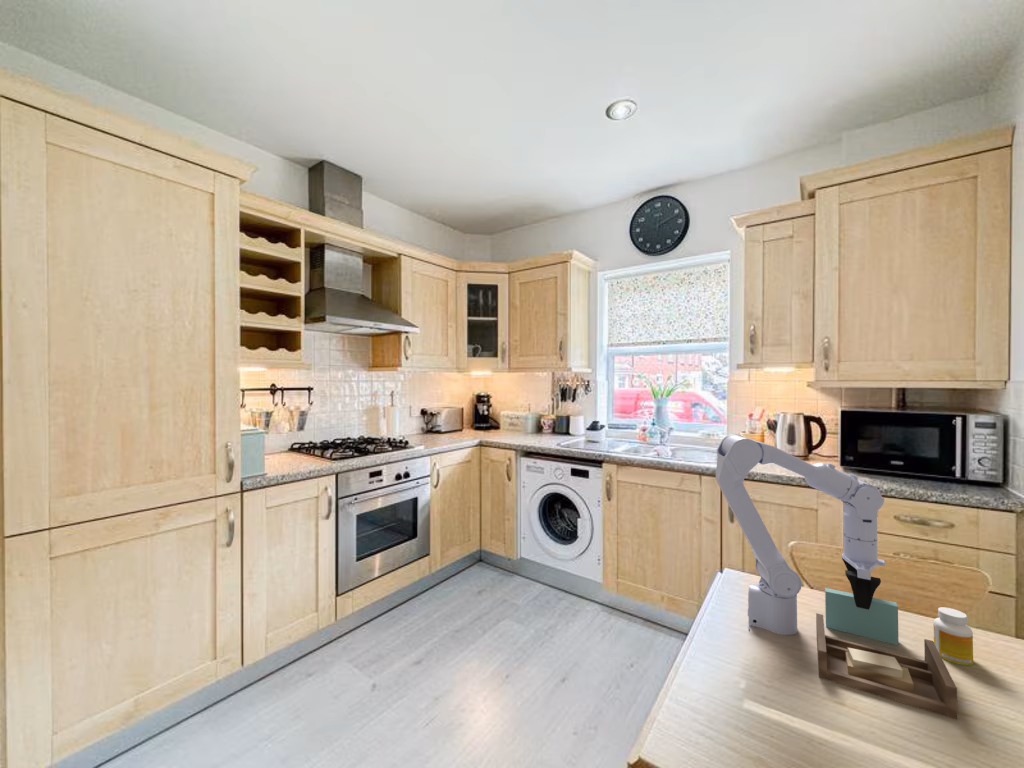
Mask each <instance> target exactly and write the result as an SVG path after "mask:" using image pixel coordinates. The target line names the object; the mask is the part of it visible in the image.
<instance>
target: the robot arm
mask: <svg viewBox="0 0 1024 768" xmlns="http://www.w3.org/2000/svg"><path fill="white" fill-rule="evenodd" d="M716 455H717V456H716V457H717V459H716V468H715V480H716V483H717V484H718V486H719V488H720V490H721V492H722V495H723V496H724V498H725V500H726V502H727V504H728V506H729V508H730V509H731V511H732V514H733V515H734V517H735V519H736V522H737V523H738V525H739V527H740V529H741V531H742V533H743V534H744V536H745V538H746V540H747V543H748V544H749V546H750V548H751V550H752V552H751V553H752V556H753V558H754V560H755V561H754V562H755V565H754V566H755V570H756V572H757V573H758V574H759V577H760V579H759V582H758V583H749V586H748V594H747V595H748V597H747V598H748V599H747V602H748V603H747V606H748V607H747V616H748V630H749V631H751V626H753V627H756V628H760V629H764V630H767V631H769V632H772V633H774V634H777V635H781V636H782V635H783V636H792V635H796V634H797V632H798V594H799V593H800V592H801V590H802V586H803V582H802V579H801V577H800V575H799V574H798V573H797V572H796V571H795V570H793V569H792V568H791V567H790V565H789V564H788V562H787V561H786V559H785V558H784V557H783V554H781V552H780V550H779V548H778V547H777V545H776V543H775V542H774V540H773V538H772V537H771V534H770V532H769V531H768V529H767V527H766V525H765V522H764V521H763V519H762V518H761V516H760V513H759V511H758V510H757V507H756V506H755V504H754V502H753V500H752V499H751V496H750V495H749V492H748V491H747V489H746V486H744V483H743V482H744V480H745V478H746V476H747V474H748V473H749V472H750V471H751V470H752V469H754V468H755V466H757V465H758V464H761V465H768V464H775V465H777V466H779V467H781V468H784V469H785V470H788V471H790V472H793V473H795V474H798V475H800V476H802V477H803V478H804V479H805V482H806V484H807V485H808V486H809V487H811V488H813V489H816V490H817V491H820V492H821V493H824V494H827V495H828V496H830V497H833V498H835V499H837V500H840V501H841V502H842V553H841V560H842V562H843V563H844V565H845V567H846V569H845V571H844V574H845V577H846V578H847V580H848V582H849V584H850V587H851V590H852V593H853V596H854V600H855V604H856V607H859V608H863V609H868V610H869V609H870V606H871V602H872V598H874V594H875V592H876V590H877V588H879V586H880V585H881V583H882V581H881V578H880V577H875V576H871V573H872V571H873V570H874V569H876V568H877V567H878V566H884V567H885V566H886V561H885V560H884V559H883V558H882V559H881V558H878V518H879V517H878V514H879V513H878V512H879V510H880V509H881V508H882V507H883V505H884V503H885V498H884V497H882V493H881V491H880V490H878V489H879V488H877V487H876V486H874V485H873V484H870V483H867V482H865V481H862V480H859V479H858V478H859V477H858V476H857V475H855V474H853V473H850V474H848V473H845V472H843V471H841V470H839V469H836V465H835V464H833V463H829V462H826V463H824V462H816V463H812V464H811V463H810V462H807V461H805V460H802V459H800V458H798V457H797V456H794V455H793V454H791V453H788V452H786V451H784V450H782V449H780V448H778V447H776V446H774V445H771V444H768V443H765V442H762V441H759V440H755V439H753V438H749V437H747V438H746V437H744V436H742V435H740V434H737V433H732V434H728V435H726V436H725V437H723V438H722V440H721V441H720V444H719V445H718V446H717V448H716Z"/></svg>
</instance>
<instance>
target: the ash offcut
mask: <svg viewBox="0 0 1024 768" xmlns="http://www.w3.org/2000/svg"><path fill="white" fill-rule="evenodd" d="M848 657H849V659H850V661H851V663H852V666H853V668H857V669H862V670H866V671H871V672H875V673H879V674H884V675H888V676H893V677H897V678H902V679H903V670H902V668H901V667H900V665H899V664H898V662H897V660H896V659H895V657H891V656H886V655H882V654H877V653H872V652H867V651H863V650H858V649H853V648H848Z"/></svg>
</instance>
